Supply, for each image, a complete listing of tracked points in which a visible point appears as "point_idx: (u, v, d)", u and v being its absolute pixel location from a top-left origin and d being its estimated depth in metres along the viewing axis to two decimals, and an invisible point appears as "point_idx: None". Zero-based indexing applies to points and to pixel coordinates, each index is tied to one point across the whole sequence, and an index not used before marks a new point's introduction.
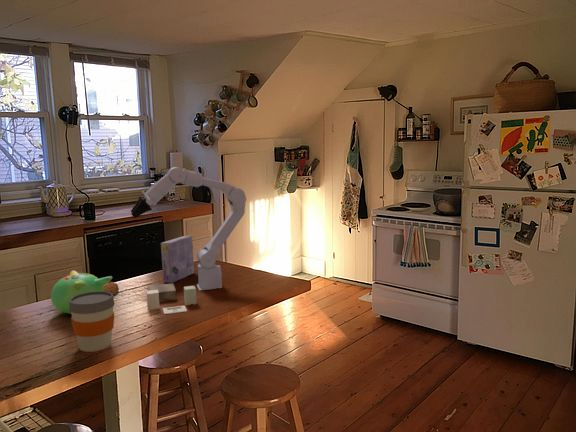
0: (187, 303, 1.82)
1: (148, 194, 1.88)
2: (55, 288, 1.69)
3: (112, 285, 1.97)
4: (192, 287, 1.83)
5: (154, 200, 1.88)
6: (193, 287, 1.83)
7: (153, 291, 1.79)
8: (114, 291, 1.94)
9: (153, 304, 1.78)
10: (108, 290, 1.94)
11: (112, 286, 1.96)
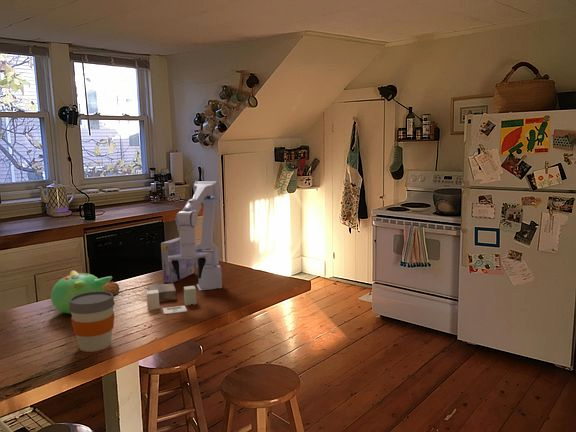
0: (187, 303, 1.82)
1: (194, 253, 1.80)
2: (55, 288, 1.69)
3: (113, 285, 1.97)
4: (192, 287, 1.83)
5: None
6: (193, 287, 1.83)
7: (153, 291, 1.79)
8: (115, 291, 1.94)
9: (153, 304, 1.78)
10: (109, 290, 1.94)
11: (113, 286, 1.97)
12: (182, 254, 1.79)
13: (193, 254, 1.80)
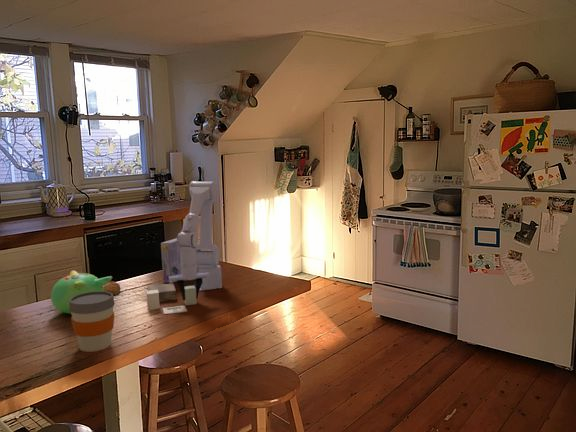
0: (187, 303, 1.82)
1: (195, 274, 1.81)
2: (55, 288, 1.69)
3: (114, 285, 1.98)
4: (192, 287, 1.83)
5: None
6: (193, 287, 1.83)
7: (153, 291, 1.79)
8: (116, 291, 1.95)
9: (153, 304, 1.78)
10: (110, 290, 1.94)
11: (114, 286, 1.97)
12: (183, 274, 1.80)
13: (194, 274, 1.81)
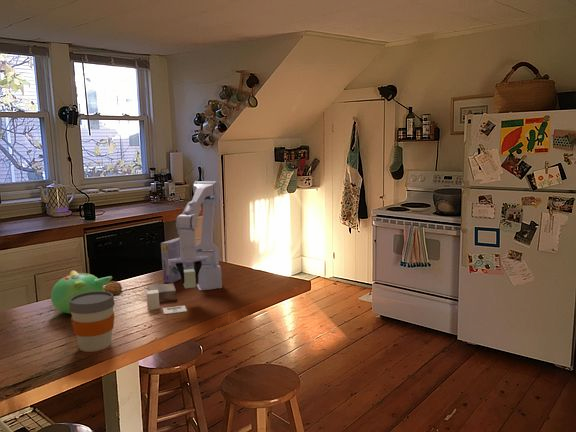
0: (186, 286, 1.81)
1: (194, 257, 1.80)
2: (55, 288, 1.69)
3: (115, 284, 1.98)
4: (191, 270, 1.82)
5: None
6: (192, 270, 1.82)
7: (153, 291, 1.79)
8: (118, 290, 1.95)
9: (153, 304, 1.78)
10: (112, 290, 1.95)
11: (115, 285, 1.97)
12: (182, 257, 1.79)
13: (193, 257, 1.80)
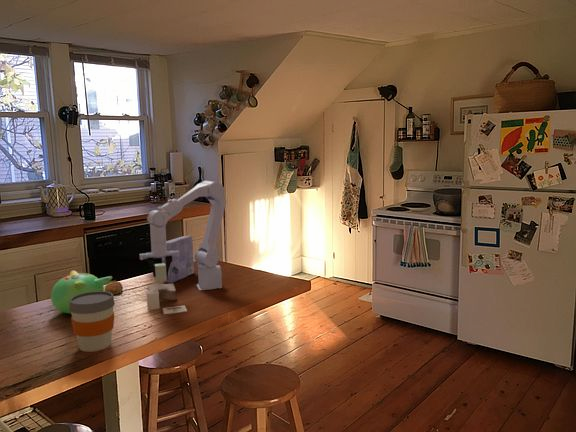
0: (157, 280, 1.88)
1: (165, 251, 1.87)
2: (55, 288, 1.69)
3: (116, 284, 1.98)
4: (162, 264, 1.89)
5: None
6: (163, 264, 1.89)
7: (153, 291, 1.79)
8: (119, 290, 1.96)
9: (153, 304, 1.78)
10: (113, 289, 1.95)
11: (116, 285, 1.98)
12: (153, 252, 1.86)
13: (164, 252, 1.87)
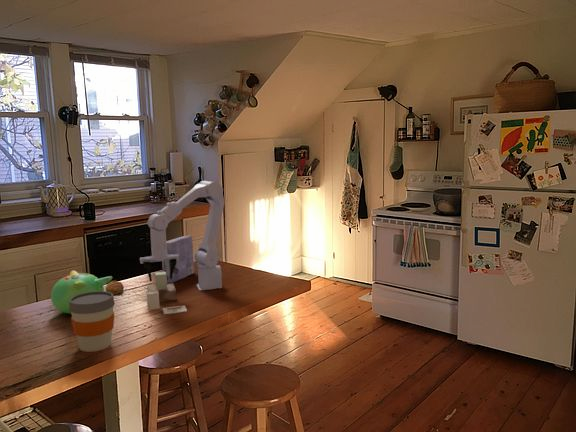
0: (158, 288, 1.88)
1: (165, 255, 1.88)
2: (55, 288, 1.69)
3: (117, 284, 1.99)
4: (163, 273, 1.90)
5: None
6: (164, 273, 1.90)
7: (153, 291, 1.79)
8: (120, 290, 1.96)
9: (153, 304, 1.78)
10: (114, 289, 1.95)
11: (117, 285, 1.98)
12: (153, 256, 1.86)
13: (164, 256, 1.87)
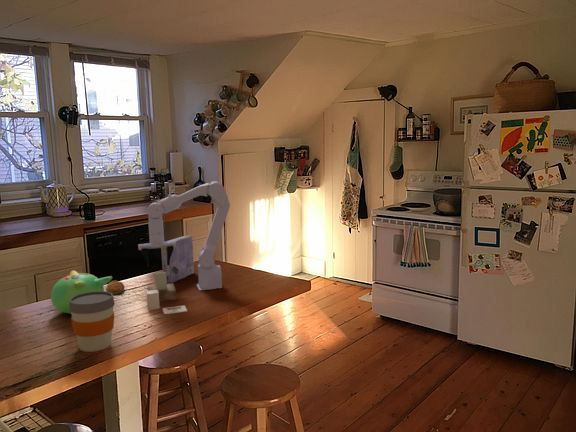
0: (158, 288, 1.88)
1: (162, 242, 1.95)
2: (55, 288, 1.69)
3: (118, 284, 1.99)
4: (163, 273, 1.90)
5: None
6: (164, 273, 1.90)
7: (153, 291, 1.79)
8: (121, 289, 1.96)
9: (153, 304, 1.78)
10: (115, 289, 1.95)
11: (118, 285, 1.98)
12: (151, 243, 1.94)
13: (161, 243, 1.95)
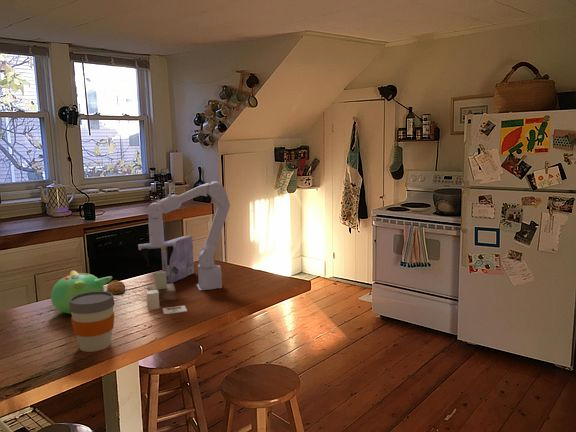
0: (157, 287, 1.89)
1: (162, 242, 1.95)
2: (55, 288, 1.69)
3: (119, 283, 1.99)
4: (163, 272, 1.90)
5: None
6: (164, 272, 1.90)
7: (153, 291, 1.79)
8: (122, 289, 1.96)
9: (153, 304, 1.78)
10: (116, 289, 1.96)
11: (119, 284, 1.98)
12: (151, 242, 1.94)
13: (161, 243, 1.95)
